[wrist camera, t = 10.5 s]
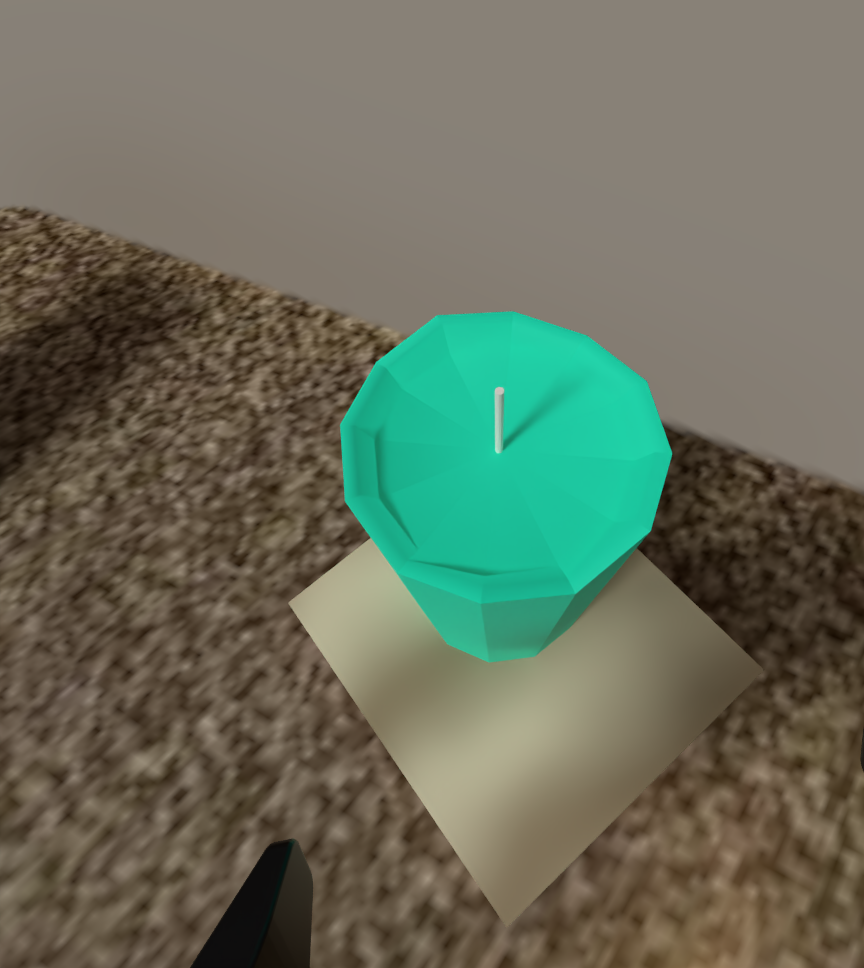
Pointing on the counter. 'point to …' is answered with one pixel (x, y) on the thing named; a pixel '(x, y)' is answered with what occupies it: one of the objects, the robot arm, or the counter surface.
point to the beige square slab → (527, 712)
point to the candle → (503, 475)
